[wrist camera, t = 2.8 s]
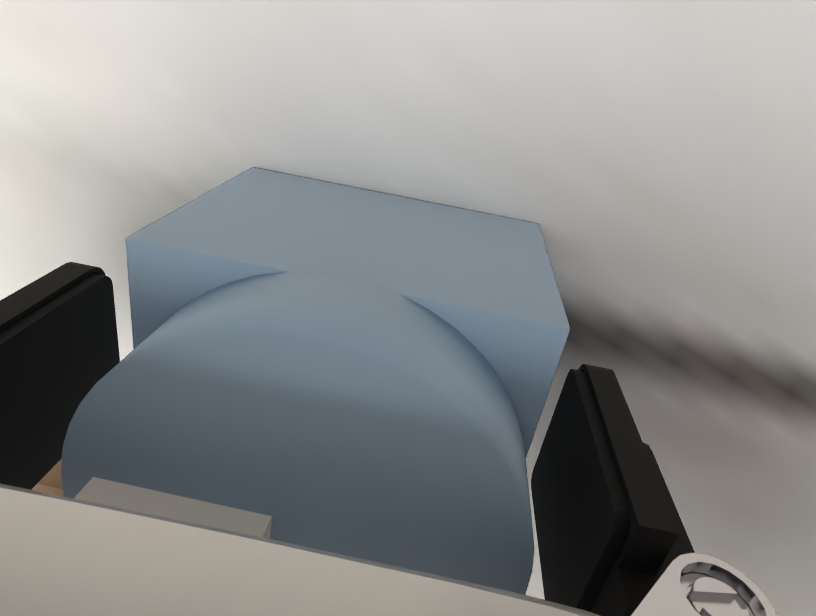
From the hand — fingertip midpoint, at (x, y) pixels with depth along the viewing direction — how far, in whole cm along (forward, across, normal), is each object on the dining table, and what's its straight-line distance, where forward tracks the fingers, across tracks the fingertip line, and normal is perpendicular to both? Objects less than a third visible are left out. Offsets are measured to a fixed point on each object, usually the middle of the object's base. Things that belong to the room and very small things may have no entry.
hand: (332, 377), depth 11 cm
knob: (+3, 0, 0) cm, 3 cm away
